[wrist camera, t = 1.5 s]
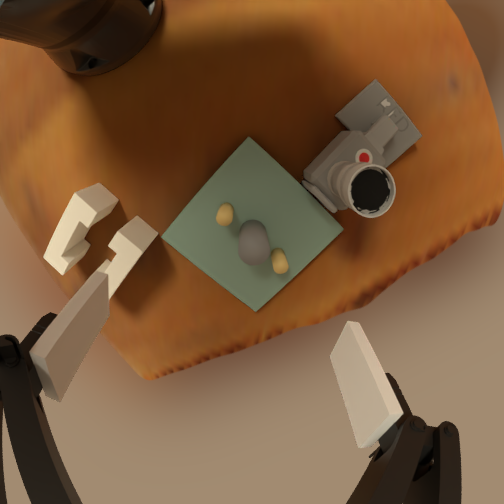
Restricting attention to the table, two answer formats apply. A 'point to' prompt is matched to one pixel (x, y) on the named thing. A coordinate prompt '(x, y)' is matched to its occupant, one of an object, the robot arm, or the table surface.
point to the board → (252, 226)
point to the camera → (362, 155)
